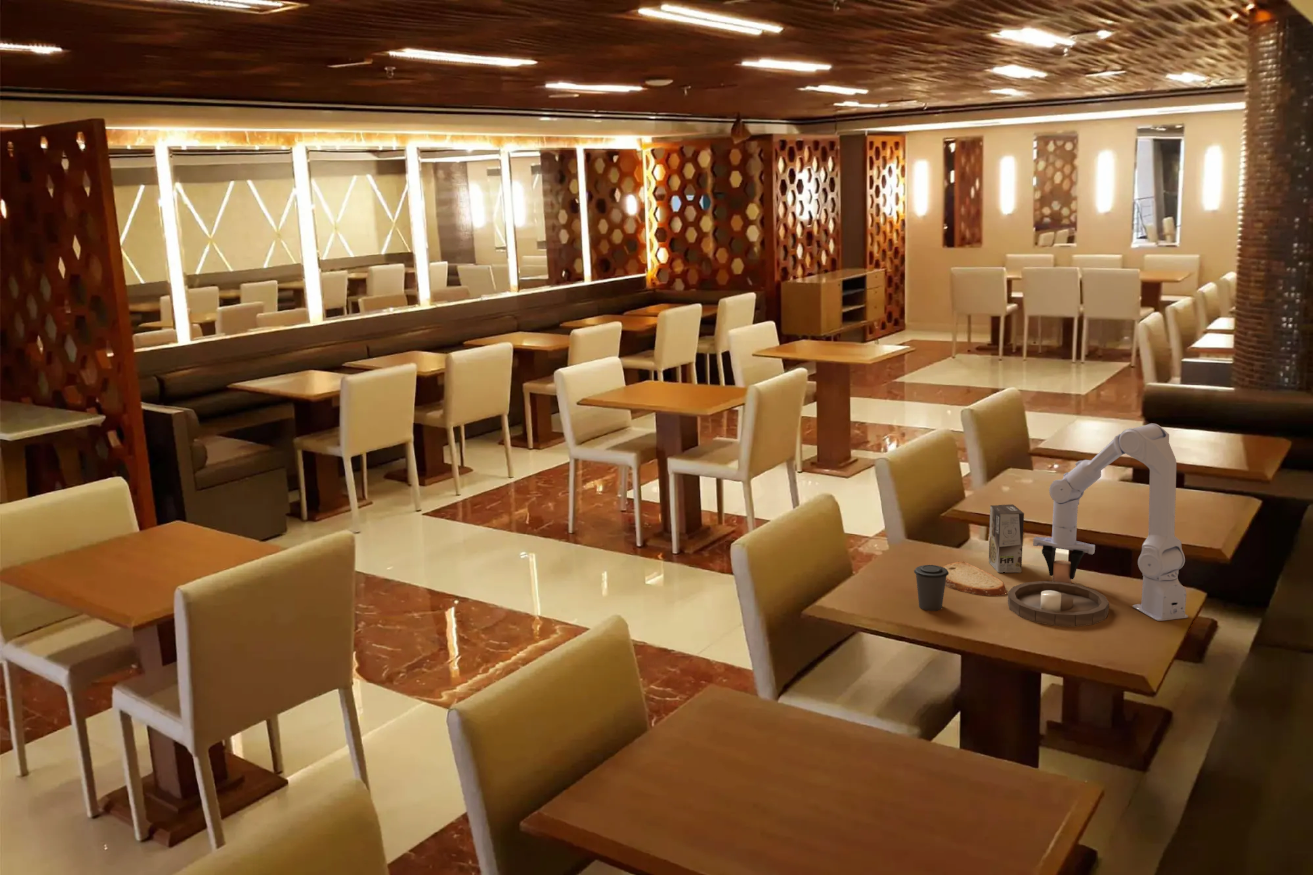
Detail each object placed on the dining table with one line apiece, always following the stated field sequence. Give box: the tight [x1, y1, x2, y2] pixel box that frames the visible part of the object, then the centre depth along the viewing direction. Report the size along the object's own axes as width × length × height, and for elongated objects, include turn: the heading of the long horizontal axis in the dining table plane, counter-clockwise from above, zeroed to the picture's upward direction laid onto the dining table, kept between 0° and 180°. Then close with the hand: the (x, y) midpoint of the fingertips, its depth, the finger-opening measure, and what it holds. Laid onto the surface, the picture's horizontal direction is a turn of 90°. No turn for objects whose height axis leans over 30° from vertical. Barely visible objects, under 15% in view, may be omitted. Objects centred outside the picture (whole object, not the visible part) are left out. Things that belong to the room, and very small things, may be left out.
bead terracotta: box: [1052, 559, 1072, 584], centre depth 270 cm, size 4×4×5 cm
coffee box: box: [988, 503, 1025, 574], centre depth 280 cm, size 9×6×16 cm
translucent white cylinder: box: [1040, 590, 1061, 612], centre depth 247 cm, size 4×4×5 cm
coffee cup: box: [913, 564, 949, 612], centre depth 255 cm, size 8×8×10 cm
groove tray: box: [1007, 580, 1110, 627], centre depth 252 cm, size 22×22×3 cm
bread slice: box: [942, 560, 1008, 597], centre depth 272 cm, size 18×18×4 cm
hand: (1061, 576), depth 270 cm, fingers closed on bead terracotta, 4 cm apart
